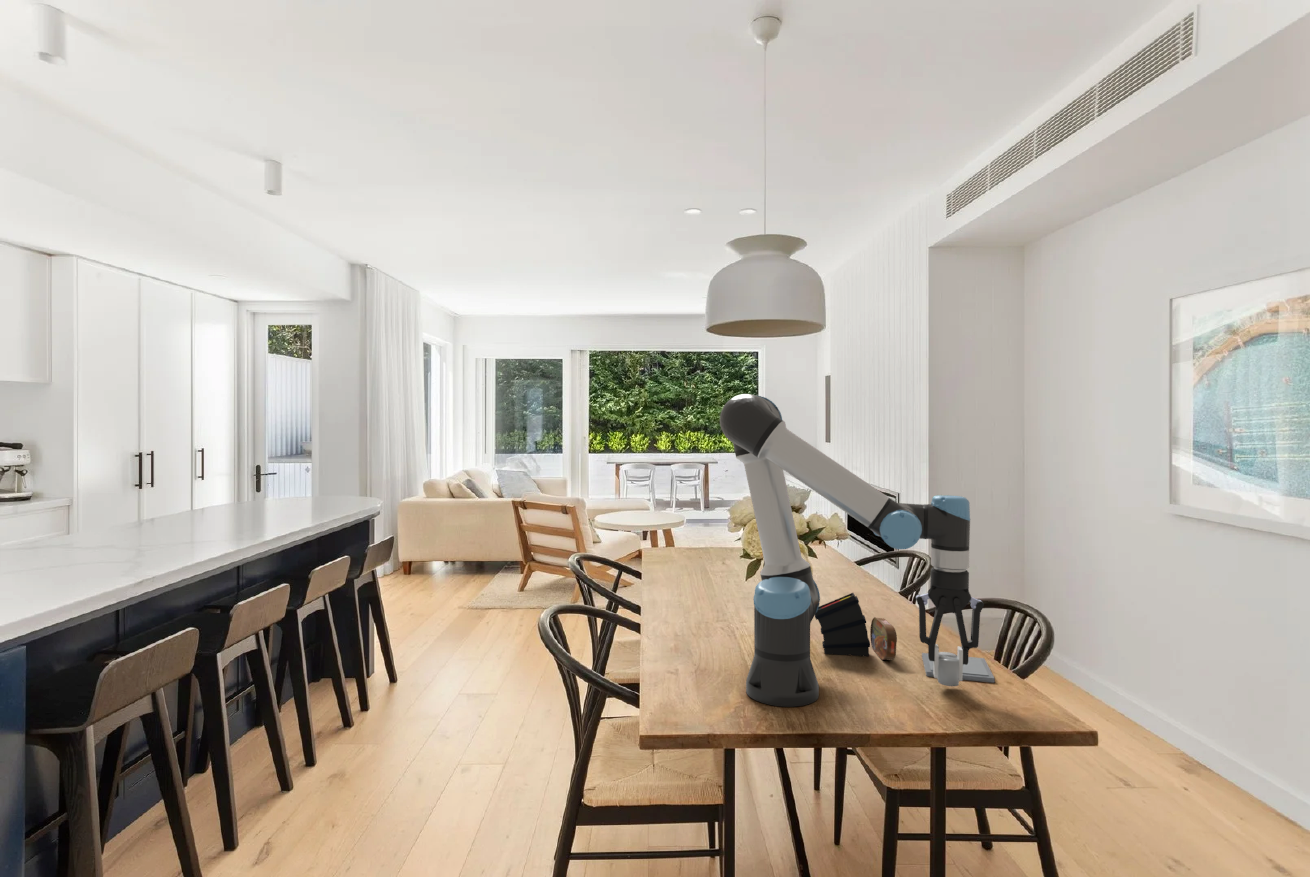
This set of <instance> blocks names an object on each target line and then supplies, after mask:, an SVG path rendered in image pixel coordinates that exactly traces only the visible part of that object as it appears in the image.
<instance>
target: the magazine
mask: <svg viewBox="0 0 1310 877" xmlns="http://www.w3.org/2000/svg"><path fill="white" fill-rule="evenodd" d="M814 619H815V620H817V621H818V623H819V624H820V635H822V637H823V640H822V643H821V644H822V649H823V653H824V654H825V655H839V656H851V655H852V656H855V657H869V656H870V653H869V652H870V650H869V649H870V647H871V640H870V639H869V635H868V633H869V632H868V630H867V619H866V616H865V614H863V610H862V608H861V605H860V601H859V599H858V596H857V595H856V596H855V593H854V592H851V593H849V594H846V595H844V596H841V597H839V598H837V599H834V600H832V601H829V602H827V603H824V604H822V605H819V607H818V610H817V612H816V614H815V615H814Z"/></svg>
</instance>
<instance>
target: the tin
mask: <svg viewBox="0 0 1310 877" xmlns="http://www.w3.org/2000/svg"><path fill="white" fill-rule="evenodd" d="M869 631H870V634H869V636H870V647H871V648H872V650H873V651H874V653H875V654H876V655H877V656H878V657H879V659H880V660H883V661H884V660H885V661H886V660H887V661H888V660H889V661H893V660H895V658H896V656H897V642H898V637H897V630H896V628H895V627H894V625H892V624H891V623H890V622H889V621H888V620H886V618H882V617H875V616H874V617H873V618H872V620H871V622H870V630H869Z"/></svg>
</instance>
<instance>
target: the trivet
mask: <svg viewBox="0 0 1310 877" xmlns="http://www.w3.org/2000/svg"><path fill="white" fill-rule="evenodd" d="M921 659H922V662H923V668H924V671H925V676H926V677H930V678H932V677H933V678H934V674H933V665H934V661H930V660H929V657H928V652H927V653H926V652H921ZM962 681H974V682H984V683H991V684H992V683H994V684H995V681H996V680H995V676H994V674H993V673H992V670H991V668H990V666H989V665H988V663H987V660H986V659H985V657H976V656H975V657H973V656H968V664H967V665H965V664H963V678H962Z"/></svg>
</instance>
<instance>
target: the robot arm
mask: <svg viewBox="0 0 1310 877" xmlns="http://www.w3.org/2000/svg"><path fill="white" fill-rule="evenodd" d="M719 426H720V429H721V431H722V433H723V435H724V436H725V437H726V439H727V440H728V441H729V442H731V443H732V445H733V450H734V454H735V458H736V459H737V460H739V461H740V462H742V463H743V465H744V471H745V475H746V479H747V480H746V481H747V484H748V489H749V494H750V498H751V503H752V508H753V513H754V518H755V523H756V528H757V532H758V533H757V534H758V538H759V542H760V546H761V551H762V557H763V561H764V564H763V565H764V566H763V567H762V568H761V571H760V573H759V574H760V578H761V580H760V581H759V582H758V583H757V584H756V585H755V588H754V595H753V597H752V598H753V606H754V607H753V608H754V609H753V610H754V612H753V616H754V617H753V618H754V619H753V620H754V622H753V624H754V630H753V631H754V632H753V633H754V634H753V636H754V641H753V642H754V643H753V644H754V656H753V658H752V661H751V664H750V667H749V671H748V674H747V677H746V682H745V693H746V695H747V696H748V697H750V698H751V699H752V700H755V701H757V702H758V703H761V704H765V705H770V706H774V707H775V706H776V707H787V708H790V707H802V706H806V705H810V704H812V703H815V702H816V701H817V700H818V699H819V697H820V696H819V694H820V692H819V691H820V689H819V688H820V687H819V682H818V679H817V675H816V672H815V669H814V666H813V663H812V660H811V623H812V621H813V619H814V618H815V614H816V612H817V610H818V607H819V606H820V602H821V595H820V594H821V593H820V589H819V587H818V585H817V583H816V581H815V580H814V577H813V573H812V569H811V563H809V562H808V561H806V560H805V559H804V557H803V556H802V553H801V548H800V543H799V539H798V534H797V529H796V524H795V520H794V514H793V511H792V510H793V509H792V506H791V502H790V497H789V492H788V487H787V483H786V477H785V472H786V473H788V474H789V475H790V476H792V477H794V479H796V480H798V481H799V482H801V483H803V485H805V486H807V487H808V488H810V490H812V491H814V492H815V493H817V494H818V495H820V496H821V497H823V499H825V500H827V501H828V502H830V503H832V504H833V505H834V506H836V507H837V508H839V509H840V510H841V511H843V512H844V513H846V514H847V515H849V516H850V517H852V518H854V519H855V520H856V521H858V522H859V523H861V524H862V525H864V526H865V527H867V529H869V530H870V531H872V532H873V534H874V535H875V536H877V537H880V538H881V540H883V541H884V543H886V545H888V546H889V547H890V548H893V549H896V550H907V549H910V548H912V547H914V546H915V545H916V544H918V542H919V540H930V541H931V544H930V549H931V550H930V565H931V566H932V567H931V568H930V582H929V583H930V586H929V589H928V591H927V593H923V594H918V593H917V594H916V595H915V600H916V603H917V605H918V624H919V626H918V627H919V628H918V630H919V631H918V632H919V634H918V635H919V640H920V642H921V643H923V644H926V645H927V648H928V649H927V650H928V651H927V653H928V657H929V660H930V661H934V665H933V674H934V677H933V678H934V679H937V678H938V663H939V652H940V651H939V650H940V648H939V644H937V643H936V642H937V639H938V635H939V631H940V628H941V622H942V619H943V616H944V614H945V613H952V614H954V615H955V616H954V617H955V620H956V624H957V630H958V634H959V639H960V645H961V646H958V645H957V647H956V648H957V650H956V651H957V653H956V655H957V657H958V659H959V682H963V680H962V678H963V664H965V665H967V664H968V657H969V651H970V649H977V648H978V647H979V642H980V641H979V640H980V639H979V638H980V626H981V625H980V624H981V612H982V610H983V608H984V607H985V606H984V605H985V604H984V602H983V601H982V600H981V599H980V598H978V599H977V598H975V597H973V596H972V595H971V593H970V591H969V588H970V587H969V586H970V584H969V583H970V572H969V570H968V569H969V568H970V539H971V538H970V537H971V535H970V533H971V513H970V512H971V510H970V509H971V508H970V506H971V505H970V501H969V499H967V497H965V496H962V495H961V496H960V495H949V494H948V495H942V494H941V495H939V494H937V495H934V496H933V497H932V498H931V502H930V503H927V504H926V503H924V504H922V503H921V504H920V503H918V504H917V503H902V502H897V501H895V500H893V499H892V498H890V497H889V496H887V495H886V494H884V493H883V492H881V491H880V490H878V489H877V488H875V486H872V484H870V483H869V482H867V481H865V480H864V479H862V478H861V477H860V476H858V475H856V474H855V473H853V472H852V471H850V470H849V469H847V468H846V467H844V466H843V465H841V464H840V463H838V461H835V460H834V459H832V458H831V457H830V456H828V455H826V454H825V453H823V452H822V451H820V450H819V449H817V448H816V447H814V446H813V445H812V444H810V443H808V442H807V441H806V440H804V439H802V438H801V437H800V436H799V435H797V434H795V433H793V431H790V430H789V429H788V428H787V425H786V422H785V421H784V420H783V416H782V414H781V411H780V410H779V407H777V405H776V404H775V403H774V402H773V401H772V400H771V399H769V398H767V397H764V396H761V395H755V394H751V393H742V394H738V395H735V396H733V397H731V398H730V399H729V400H728V401H727V402H726V403H725V404H724V405H723V407H722V409H721V411H720V414H719ZM784 471H785V472H784ZM929 600H930V601H931V602H932V604H933V605H934V606H935V611H934V615H933V618H932V619H933V620H932V623H931V627H930V632H929V635H928V636H927V616H926V615H927V614H926V613H927V612H926V609H927V608H926V606H927V605H928V601H929ZM969 603H970V607H971V609H972V611H971V624H970V625H971V627H970V639H969V640H968V635H967V632H966V626H965V621H964V616H963V610H964V609H965V607H966V606H967V605H968V604H969Z"/></svg>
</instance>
